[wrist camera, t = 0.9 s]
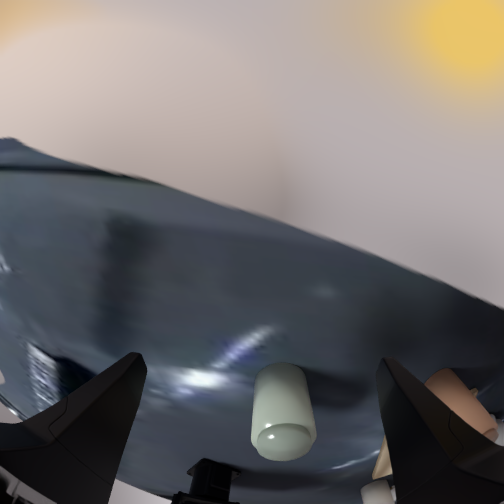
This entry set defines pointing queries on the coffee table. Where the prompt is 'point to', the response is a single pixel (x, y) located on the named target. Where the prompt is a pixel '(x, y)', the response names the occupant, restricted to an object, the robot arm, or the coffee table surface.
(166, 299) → the coffee table surface
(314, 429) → the sage jar
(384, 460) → the beige cloth
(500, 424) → the chubby cartoon animal
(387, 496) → the cream jar
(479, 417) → the terracotta jar
